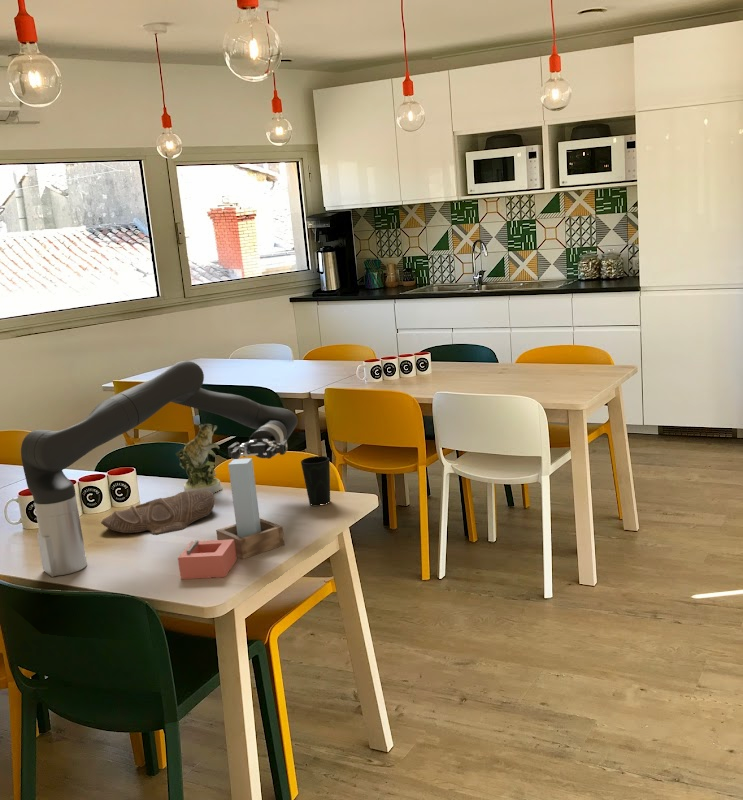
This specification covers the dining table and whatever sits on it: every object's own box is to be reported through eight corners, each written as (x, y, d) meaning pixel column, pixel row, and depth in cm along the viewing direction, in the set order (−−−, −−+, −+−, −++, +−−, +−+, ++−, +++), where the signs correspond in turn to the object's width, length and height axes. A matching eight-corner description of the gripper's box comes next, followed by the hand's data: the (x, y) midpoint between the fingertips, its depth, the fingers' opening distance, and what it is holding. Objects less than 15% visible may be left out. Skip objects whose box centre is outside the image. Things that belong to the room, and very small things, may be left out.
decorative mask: (93, 505, 248) (200, 475, 258) (99, 528, 249) (205, 496, 260) (105, 528, 226) (221, 494, 237) (111, 552, 228) (226, 517, 239)
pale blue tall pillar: (257, 545, 214) (247, 463, 210) (238, 546, 215) (228, 464, 211) (262, 538, 219) (252, 458, 215) (243, 539, 219) (233, 459, 215)
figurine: (231, 489, 267) (222, 423, 263) (187, 500, 260) (177, 432, 256) (217, 481, 277) (209, 417, 273) (174, 491, 270) (165, 426, 266)
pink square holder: (225, 577, 199) (221, 552, 198) (180, 579, 200) (177, 554, 199) (236, 559, 209) (233, 535, 208) (194, 562, 210) (191, 538, 209)
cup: (303, 501, 248) (298, 459, 246) (329, 496, 250) (325, 454, 248) (309, 509, 241) (304, 465, 239) (337, 504, 243) (332, 460, 241)
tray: (242, 559, 209) (240, 540, 208) (218, 548, 218) (216, 530, 217) (284, 544, 216) (282, 526, 215) (259, 534, 225) (257, 517, 224)
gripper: (238, 427, 239) (221, 442, 223) (292, 425, 237) (278, 439, 221) (241, 455, 240) (224, 471, 224) (294, 453, 238) (281, 469, 222)
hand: (251, 455), depth 222 cm, fingers open, 8 cm apart
